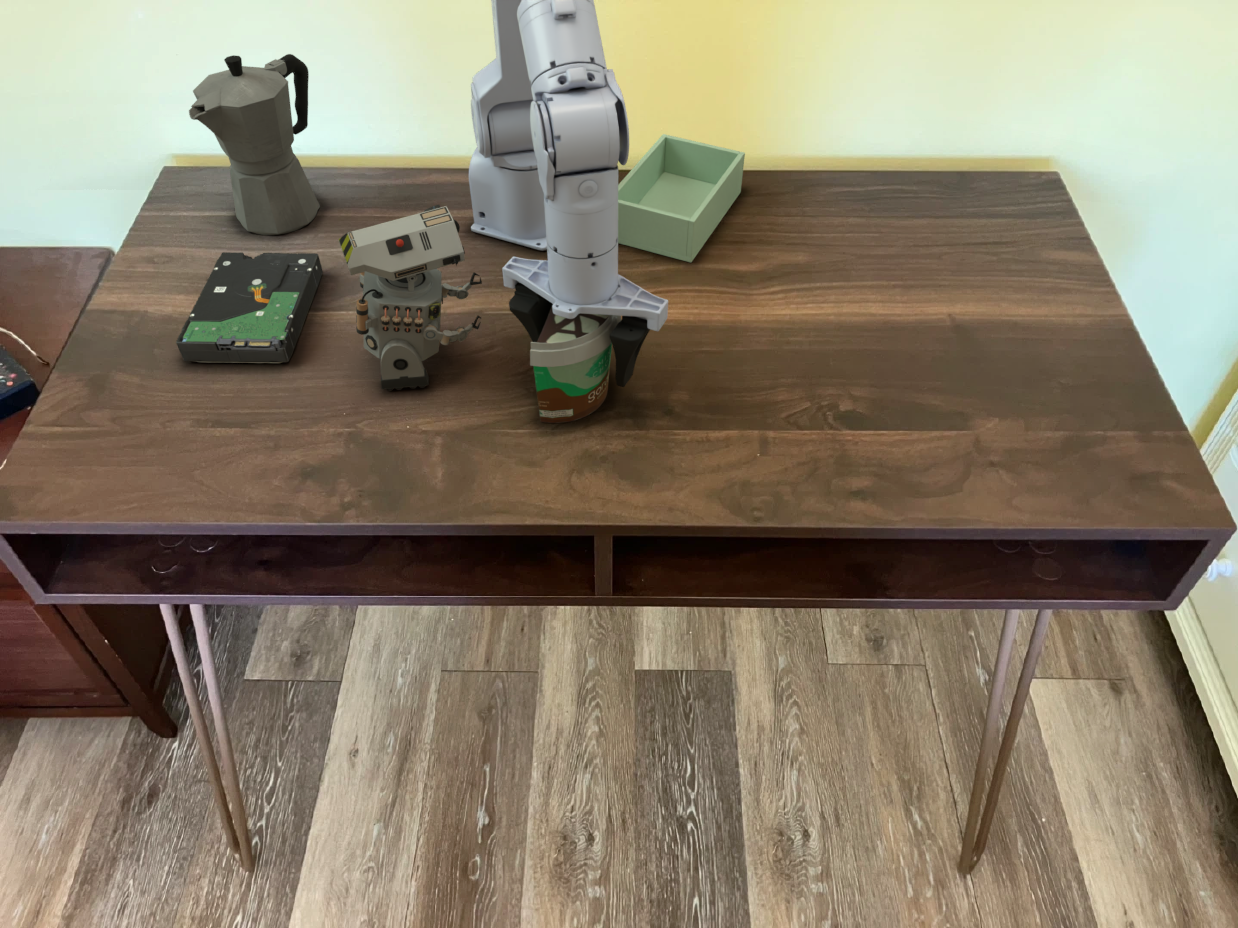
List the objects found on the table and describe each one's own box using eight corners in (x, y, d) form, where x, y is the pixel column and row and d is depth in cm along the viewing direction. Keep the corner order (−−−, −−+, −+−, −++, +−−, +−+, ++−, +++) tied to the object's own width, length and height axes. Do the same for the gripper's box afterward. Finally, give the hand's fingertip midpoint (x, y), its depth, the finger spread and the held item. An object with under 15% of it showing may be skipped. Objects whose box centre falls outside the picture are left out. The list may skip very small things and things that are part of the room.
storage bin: (605, 239, 104) (605, 199, 100) (661, 172, 113) (663, 133, 110) (691, 262, 101) (694, 221, 97) (740, 192, 110) (745, 152, 107)
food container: (603, 444, 82) (602, 358, 75) (535, 433, 83) (528, 346, 76) (633, 355, 90) (635, 269, 83) (571, 346, 91) (568, 259, 84)
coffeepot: (265, 254, 101) (213, 93, 88) (205, 229, 105) (146, 70, 92) (362, 190, 110) (328, 35, 97) (304, 168, 114) (263, 16, 101)
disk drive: (227, 274, 99) (183, 365, 89) (219, 251, 97) (173, 341, 87) (325, 274, 99) (292, 364, 89) (319, 251, 97) (284, 341, 87)
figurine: (490, 383, 88) (472, 247, 77) (365, 394, 86) (329, 257, 75) (486, 323, 94) (470, 188, 83) (370, 332, 93) (337, 197, 82)
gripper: (477, 242, 74) (494, 371, 84) (645, 289, 70) (641, 419, 80) (521, 198, 78) (531, 326, 88) (681, 240, 74) (673, 369, 84)
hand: (586, 367), depth 84 cm, fingers open, 7 cm apart
